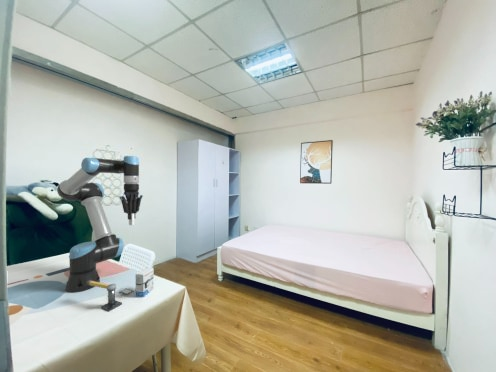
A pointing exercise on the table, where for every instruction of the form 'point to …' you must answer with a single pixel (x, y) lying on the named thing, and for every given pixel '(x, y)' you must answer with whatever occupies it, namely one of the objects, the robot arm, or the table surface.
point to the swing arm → (101, 285)
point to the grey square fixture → (111, 302)
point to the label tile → (126, 292)
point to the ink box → (144, 281)
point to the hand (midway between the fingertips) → (131, 224)
